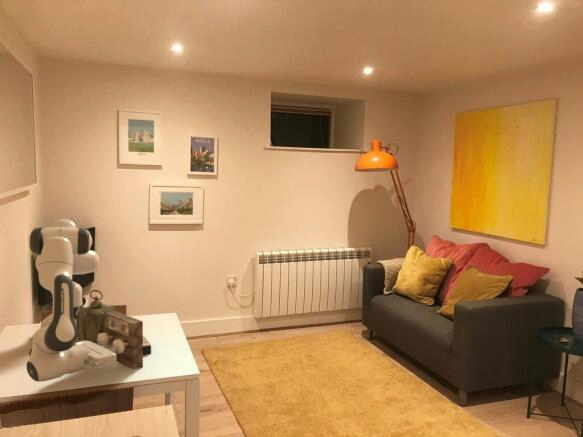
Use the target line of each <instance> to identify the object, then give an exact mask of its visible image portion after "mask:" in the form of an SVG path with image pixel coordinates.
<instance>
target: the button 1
mask: <svg viewBox="0 0 583 437" xmlns="http://www.w3.org/2000/svg"><path fill="white" fill-rule="evenodd" d="M110 339H113V335H111V336H108V334H107V333H106V332H104V333H100V334H98V336H97V341H98V343H97V345H99V346H107V345H108V344H109V340H110Z"/></svg>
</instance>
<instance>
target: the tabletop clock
mask: <svg viewBox="0 0 583 437" xmlns="http://www.w3.org/2000/svg"><path fill="white" fill-rule="evenodd" d="M93 292H96V293H99V294H100V295H101V296H100V298H99V297H98V296H94V297H93V296H92V293H93ZM89 296H90V298H91V299H93V301H91V302H90V304H89V305H88V306H85V307H84V308H81V309H80V310H79V311H78V313H77V323H76V325H77V330H78V338H77V339H79V340H81V341H91V342H93V343H95V344H98V341H97V336H98V334H100V333H104V332H105V313H107V312H111V311H116V308H115V307H114V306H111V305H107V304H103V302H102V301H101V300H102V299H103V296H104V295H103V293H102V292H101V291H100V290H98V289H93V290H91V291H90V292H89Z"/></svg>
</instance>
